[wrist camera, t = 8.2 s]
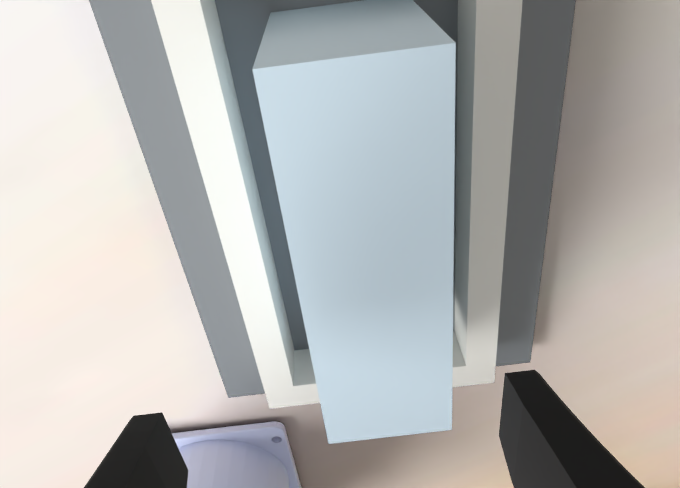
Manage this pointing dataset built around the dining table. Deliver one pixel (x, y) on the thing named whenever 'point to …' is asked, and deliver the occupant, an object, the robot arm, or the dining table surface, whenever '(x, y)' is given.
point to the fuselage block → (367, 205)
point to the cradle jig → (261, 193)
